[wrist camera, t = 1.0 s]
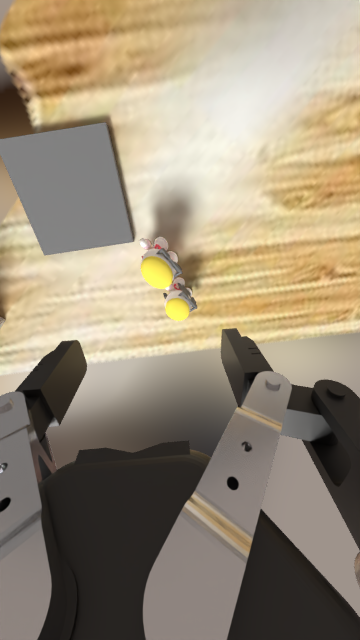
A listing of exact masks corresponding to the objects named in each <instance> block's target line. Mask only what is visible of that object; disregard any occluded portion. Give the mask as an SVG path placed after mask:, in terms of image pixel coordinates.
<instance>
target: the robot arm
mask: <svg viewBox="0 0 360 640" xmlns="http://www.w3.org/2000/svg"><path fill="white" fill-rule="evenodd" d="M221 359H222V363H223V366H224V369H225V371H226V374H227V376H228V379H229V382H230V385H231V388H232V391H233V393H234V396H235V399H236V402H237V404H238V407H237V408H236V410H235V412H234V414H233V416H232V418H231V420H230V422H229V424H228V426H227V428H226V430H225V432H224V434H223V436H222V438H221V440H220V442H219V444H218V446H217V448H216V450H215V452H214V454H213V456H212V458H210V457H209V456H207V455H205V454H203V453H201V452H198V451H195V450H190V448H189V441H179V442H168V443H161V444H158V445H155V446H152V447H149V448H146V449H144V450H141V451H138V452H135V453H130V452H125V451H119V450H114V449H109V448H99V449H88V450H79V453H78V455H77V458H76V461H73V462H71V463H69V464H67V465H65V466H63V467H61V468H60V469H58V470H57V467H56V464H55V460H54V457H53V453H52V450H51V447H50V443H49V439H48V436H47V434H46V430H47V428H48V427H51V426H59V425H60V424H61V421H62V420H63V418H64V416H65V414H66V411H67V410H68V408H69V406H70V404H71V402H72V399H73V398H74V396H75V393H76V392H77V390H78V388H79V385H80V384H81V382H82V380H83V378H84V376H85V373H86V370H87V363H86V360H85V357H84V354H83V351H82V348H81V345H80V343H79V341H78V340H71V341H62V342H61V343H60V344H59V345H58V347H57V348H56V349H55V350H54V351H52V352H50V353H49V354H47V355H46V356H45V357H43V359H42V360H41V361H40V362H39V363H38V366H36V367H35V368H34V369H33V371H32V372H31V373H30V374H29V375H28V376H27V378H26V379H25V380H24V381H23V382H22V384H21V385H20V386H19V387H18V388H17V389H16V391H15V392H9V393H6V394H4V395H1V396H0V640H360V617H359V616H358V615H357V613H356V612H355V611H354V609H353V608H352V607H351V606H350V605H349V604H348V602H347V601H346V600H345V599H344V598H343V597H342V596H341V595H340V593H339V592H338V591H337V590H336V589H335V588H334V587H333V586H332V585H331V584H330V583H329V582H328V581H327V579H326V578H325V577H324V576H323V575H322V574H321V573H320V572H319V571H318V570H317V569H316V568H315V566H314V565H313V564H312V563H311V562H310V561H309V560H308V559H307V558H306V557H305V556H304V555H303V554H302V552H301V551H299V549H298V548H297V547H296V546H295V545H294V544H293V543H292V542H291V541H290V540H289V538H288V537H287V536H286V535H285V534H284V533H283V532H282V531H281V530H280V529H279V528H278V527H277V525H276V524H275V523H274V522H273V521H272V520H271V519H270V518H269V517H268V516H267V515H266V514H265V513H264V511H263V510H262V509H261V505H262V501H263V497H264V494H265V490H266V486H267V482H268V479H269V475H270V471H271V467H272V463H273V459H274V456H275V452H276V448H277V444H278V440H279V436H280V435H285V436H289V437H293V438H297V439H302V441H303V443H304V445H305V446H306V449H307V450H308V452H309V454H310V456H311V458H312V460H313V462H314V464H315V466H316V468H317V469H318V471H319V473H320V475H321V477H322V479H323V481H324V483H325V485H326V487H327V488H328V491H329V492H330V494H331V496H332V498H333V500H334V502H335V504H336V505H337V508H338V510H339V511H340V513H341V515H342V517H343V519H344V521H345V523H346V525H347V527H348V529H349V531H350V533H351V534H352V536H353V538H354V540H355V542H356V544H357V546H358V548H359V550H360V398H359V397H358V396H357V395H356V394H355V393H354V392H353V391H352V390H351V389H350V388H348V387H347V386H345V385H343V384H341V383H339V382H335V381H332V380H319V381H317V382H316V383H315V385H314V388H309V387H303V386H297V385H292V384H291V383H290V382H289V380H288V379H287V378H285V377H284V376H283V375H281V374H279V373H276V372H274V371H273V370H272V368H271V367H270V365H269V364H268V362H267V361H266V359H265V358H264V356H263V355H262V354H261V352H260V350H259V349H258V347H257V346H256V344H255V342H254V341H253V340H251V339H250V338H248V337H247V336H245V337H241V335H240V334H239V332H238V330H237V329H236V328H234V329H223V330H222V340H221ZM354 568H355V575H356V579H357V582H358V584H359V587H360V552H359V553H358V554H357V556H356V558H355V563H354Z"/></svg>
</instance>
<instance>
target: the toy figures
mask: <svg viewBox="0 0 360 640" xmlns="http://www.w3.org/2000/svg"><path fill="white" fill-rule="evenodd" d="M140 244H141V246H142V247H143V248H144V249H146V250H148V251H147V252H146V253H145V254H144V256H142V264H141V272H142V275H143V277H144V278H145V280H146V281H147V282H148V283H149V284H150V285H152V286H153V287H156V288H160V289H163V288H165V289H166V290H168V291H170V293H169V294H168V295H167V294H166V293H163V294H164V297H165V310H166V313H167V315H168V316H169V317H170V318H171V319H173V320H177V321H181V320H184V319H185V318H187V317H188V315H189V312H191V311H192V310H194V309H197V305H196V301H195V300H194V298H193V297H191V296H192V290H191V289H190V288H186V287H185V286H184V285H185V281H184V279H183V278H181V277H177V276H178V275H179V274H182V269H181V268H180V266H179V265H178V264H177V262H178V256H177V255H176V253H175V252H173V251H169V252H167V250H168V242H167V240H166V239H165V238H163V237H157V238H156V239H155V241H154V246H152V244H151V242H150V240H148V239H144V238H142V239H140ZM178 271H179V272H178ZM176 272H178V273H176ZM175 277H177V278H175ZM174 278H175V279H174ZM173 280H174V281H173ZM172 281H173V284H172ZM180 290H181V291H180ZM192 307H193V308H192ZM191 308H192V309H191Z"/></svg>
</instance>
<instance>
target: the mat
mask: <svg viewBox="0 0 360 640" xmlns="http://www.w3.org/2000/svg"><path fill="white" fill-rule="evenodd" d="M0 155H1V157H2V159H3V162H4V164H5V166H6V168H7V171H8V173H9V175H10V178H11V180H12V182H13V185H14V187H15V189H16V191H17V194H18V196H19V198H20V201H21V203H22V205H23V208H24V210H25V212H26V214H27V217H28V219H29V221H30V224H31V226H32V228H33V230H34V233H35V235H36V237H37V240H38V242H39V244H40V247H41V249H42V251H43V253H44V255H51V254H57V253H64V252H70V251H77V250H83V249H90V248H96V247H103V246H110V245H116V244H123V243H129V242H133V241H134V238H133V234H132V230H131V225H130V221H129V216H128V212H127V208H126V203H125V199H124V194H123V190H122V186H121V181H120V177H119V173H118V168H117V164H116V159H115V155H114V151H113V146H112V142H111V137H110V133H109V129H108V125H107V124H106V122H105V123H98V124H92V125H86V126H80V127H74V128H67V129H61V130H55V131H49V132H42V133H36V134H30V135H24V136H18V137H11V138H5V139H0Z"/></svg>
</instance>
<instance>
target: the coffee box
mask: <svg viewBox="0 0 360 640" xmlns="http://www.w3.org/2000/svg"><path fill="white" fill-rule="evenodd" d="M4 322H5V319H3V318H2V317H0V328H1V326H2V325H3V323H4Z"/></svg>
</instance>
